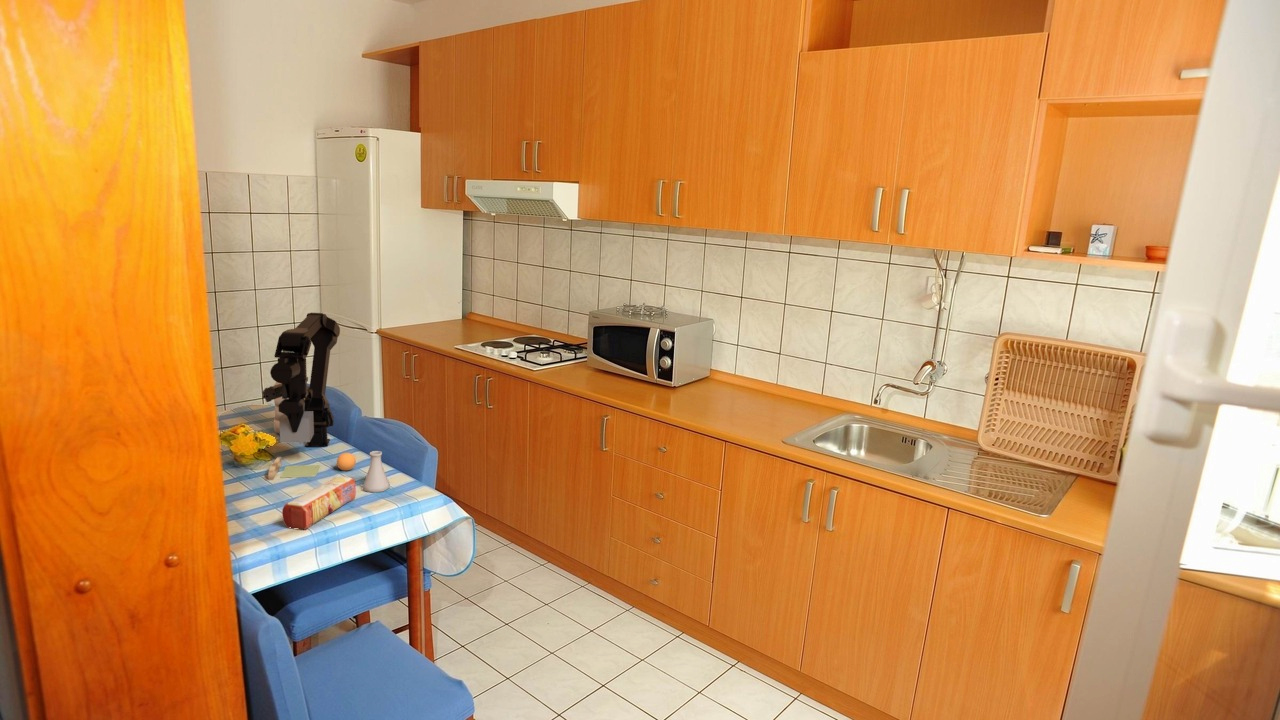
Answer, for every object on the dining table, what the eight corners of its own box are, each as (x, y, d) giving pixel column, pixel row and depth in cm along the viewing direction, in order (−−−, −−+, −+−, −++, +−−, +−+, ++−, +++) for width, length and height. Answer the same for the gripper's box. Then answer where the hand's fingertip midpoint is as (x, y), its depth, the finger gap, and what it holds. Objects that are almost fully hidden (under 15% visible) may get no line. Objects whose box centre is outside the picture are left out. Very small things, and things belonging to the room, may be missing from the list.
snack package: (335, 496, 190) (335, 471, 189) (359, 499, 189) (358, 475, 188) (281, 529, 170) (280, 501, 168) (306, 533, 168) (306, 505, 167)
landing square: (286, 466, 208) (286, 466, 208) (320, 465, 211) (320, 464, 211) (280, 477, 200) (280, 477, 200) (315, 476, 202) (315, 475, 202)
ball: (338, 467, 210) (337, 450, 209) (356, 466, 211) (356, 450, 210) (336, 473, 205) (335, 456, 204) (355, 472, 207) (354, 455, 206)
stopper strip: (277, 465, 209) (277, 456, 208) (281, 465, 209) (281, 456, 209) (268, 480, 198) (268, 471, 197) (272, 480, 198) (272, 471, 197)
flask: (384, 494, 193) (384, 458, 191) (357, 492, 193) (356, 456, 191) (394, 484, 200) (394, 449, 198) (368, 482, 200) (367, 447, 198)
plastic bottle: (269, 434, 235) (266, 374, 231) (282, 429, 241) (280, 369, 238) (287, 436, 234) (285, 376, 230) (300, 431, 240) (298, 371, 237)
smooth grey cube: (285, 434, 214) (284, 411, 213) (313, 434, 216) (313, 411, 215) (280, 442, 207) (279, 418, 205) (309, 442, 209) (309, 418, 208)
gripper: (271, 368, 215) (273, 419, 217) (256, 382, 197) (259, 438, 200) (312, 368, 218) (313, 419, 221) (301, 382, 200) (303, 437, 203)
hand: (297, 428), depth 211 cm, fingers closed on smooth grey cube, 8 cm apart
